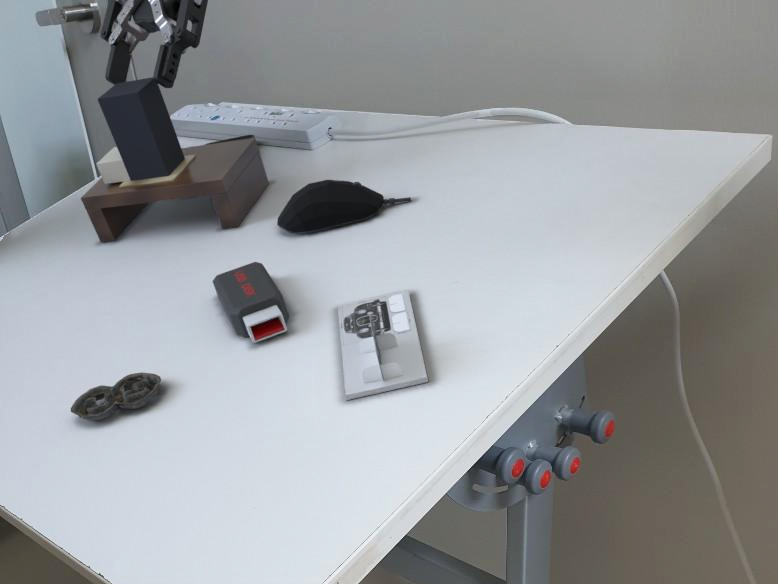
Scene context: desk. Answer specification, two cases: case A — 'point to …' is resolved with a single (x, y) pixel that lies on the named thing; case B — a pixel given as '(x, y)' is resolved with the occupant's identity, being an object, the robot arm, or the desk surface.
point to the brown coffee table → (184, 187)
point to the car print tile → (380, 345)
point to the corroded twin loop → (117, 396)
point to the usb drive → (252, 302)
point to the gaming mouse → (330, 206)
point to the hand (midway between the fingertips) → (137, 84)
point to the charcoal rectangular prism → (138, 133)
